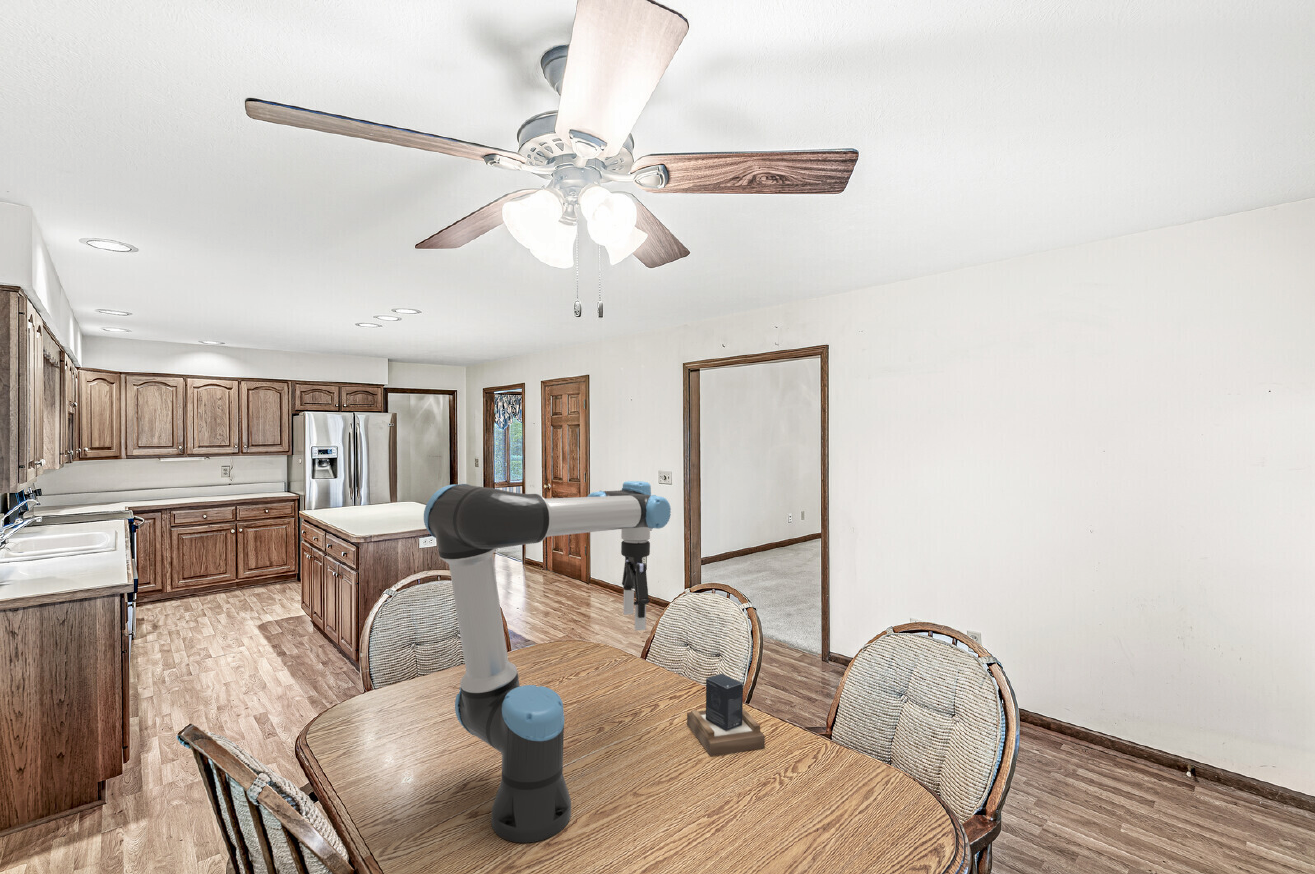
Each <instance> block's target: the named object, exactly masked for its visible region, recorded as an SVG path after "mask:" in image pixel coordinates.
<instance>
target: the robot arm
mask: <svg viewBox="0 0 1315 874" xmlns="http://www.w3.org/2000/svg"><path fill="white" fill-rule="evenodd" d="M671 510H672V509H671V505H670V502H669V500H668V499H667V498H666V497H664V496H658V495H656V494H653V495H652V487H651V484H650V483H649V482H648V481H641V480H640V481H639V480H638V481H637V480H628V481H624V482H623V483H622V487H621V490H604V491H603V490H599V491H595V492H594V491H593V492H591V493H589V494H588V495H587V496H584V497H583V496H582V497H581V496H579V497H576V496H575V497H554V498H553V497H552V498H550V497H548V498H545V497H543V496H542V495H541V494H538V493H521V492H520V493H519V492H514V491H508V490H503V489H498V488H494V487H484V486H477V485H470V484H467V483H459V484H448V485H445V486H443V487H441V488H439V489H437V491H435V492H434V493H433V494H432V495H431V496H430V498H429V499H428V501H427V503H426V505H425V507H424V511H423V522H424V526H425V529H426V530H427V531H428V533H429V534H430V535H431V537H433V538H435V539H436V545H437V551H438V556H439V559H441V560H442V561H444V562H445V563H447V564H448V566H449V567H448V568H449V574H450V578H451V585H452V591H453V598H454V604H455V611H456V618H457V623H458V628H459V629H458V630H459V636H460V642H461V647H462V653H463V654H462V655H463V659H464V667H465V673H464V674H463V676H462V677H461V679H460V684H459V685H460V687H459V691H458V693H457V694H456V695H455V700H454V711H455V717H456V718H457V720H458V722H459V724H460V725H461V726H462V727H463V728H464V729H465V730H466V731H467V732H468V733H469V734H470V735H472V736H475V737H476V738H478V739H480V740H481V741H483V742H484V743H486V744H487V745H488V746H490V747H492V748H493V749H495V750H497V751H498V752H500V753H501V780H500V782H499V786H498V789H497V792H496V795H495V797H494V801H493V804H492V808H491V821H490V823H491V827H492V830H493V831H494V832H495V834H496V835H498V836H499V837H500V838H502V839H504V840H506V841H510V842H514V843H523V844H525V843H534V842H540V841H543V840H546V839H549V838H552V837H553V836H555V835H556V834H558V833H559V832H561V831H563V829H564V828H565V827H566V826H567V825H568V823H569V822H570V819H571V817H572V816H571V815H572V800H571V796H570V793H569V790H568V787H567V784H566V779H565V777H564V772H563V771H564V770H563V768H564V767H563V766H564V739H565V736H564V735H565V721H566V719H565V715H564V714H565V712H564V703H563V699H562V698H561V696H560V695H559V694H558V693H557V692H556V691H554V690H553V689H551V688H549V687H546V686H544V685H539V686H537V685H536V684H526V685H521V686H520V680H519V673H518V668H517V665H515V664H514V663H512V662H511V661H509V657H508V649H507V642H506V637H505V631H504V630H505V629H504V624H503V623H504V622H503V616H502V610H501V604H500V598H499V597H500V595H499V591H498V584H497V576H496V569H495V563H494V556H493V555H494V554H495V552H496V550H497V549H504V548H510V547H511V548H512V547H517V546H525V545H530V544H531V545H532V544H538V543H541V542H543V541H544V540H545V539H546V538H548V537H555V536H556V537H557V536H566V535H567V536H568V535H576V534H585V533H595V532H607V531H614V530H621V534H620V535H621V537H620V538H621V540H622V541H621V544H620V545H621V548H620V549H621V550H620V554H621V555H622V556H623V557H624V558H625V559H624V567H623V572H622V573H623V574H622V581H621V585H622V587H623V588H622V589H623V605H622V606H623V609H622V610H623V611H622V612H623V615H624V616H627V615H634V631H646V629H647V628H646V627H647V625H646V624H647V604H649V603H650V599H649V588H648V578H647V576H648V575H647V564H646V563H643V558H646V557H649V556H650V554H651V542H650V541H649V540H650V539H651V532H652V531H653V529H657V530H658V529H659V530H660V529H663V528H664V527H665V526H666V525H667V524H668V523H669V521H670V519H671V513H672V512H671Z"/></svg>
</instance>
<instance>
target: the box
mask: <svg viewBox="0 0 1315 874" xmlns="http://www.w3.org/2000/svg"><path fill="white" fill-rule="evenodd" d="M743 684H744V683H743V682H741V681H739V680H736V679H735V678H732V677H730V676H728V675H726V674H724V673H718V674H716V675H712V676H709V677H706V679H705V710H706V720H708V721H710V722H712V723H713V724H715V725H717V726H719V727H720V728H722V729H724V730H726V731H728V730H731V729H734V728H736V727H739V726H742V713H743V709H744V707H743V706H744V705H743V703H744V701H743V699H744V696H743V695H744V693H743V691H744V688H743V687H744V685H743Z"/></svg>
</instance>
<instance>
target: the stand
mask: <svg viewBox="0 0 1315 874" xmlns="http://www.w3.org/2000/svg"><path fill="white" fill-rule="evenodd" d="M686 725H687V726H688V728H689V729H690V730H691V732H692V733H693V735H694V736H695V737H696V738H697V740H698V741H699V743H700V744H701V746H703V748H704V750H705V751H706V752H707V754H708V755H709V756H710V757H715V756H720V755H721V756H722V755H729V754H734V753H740V752H747V751H754V750H760V749H761V750H762V749H765V748H766V747H765V741H766V740H765V739H766V736H765V734H764V733H763V732H762V731H761V724H759V723H758V722H757V721H756V720H755V719H754V718H753V716H751V714H749V713H748V712H747V711H746V710H745V709H744V708H743V713H742V726H739V727H736V728H734V729H731V730H728V731H726V730H724V729H722V728H720V727H719V726H717V725H715V724H713V723H712V722H710V721H708V720H706V709H705V710H697V709H690V712H687V713H686Z"/></svg>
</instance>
